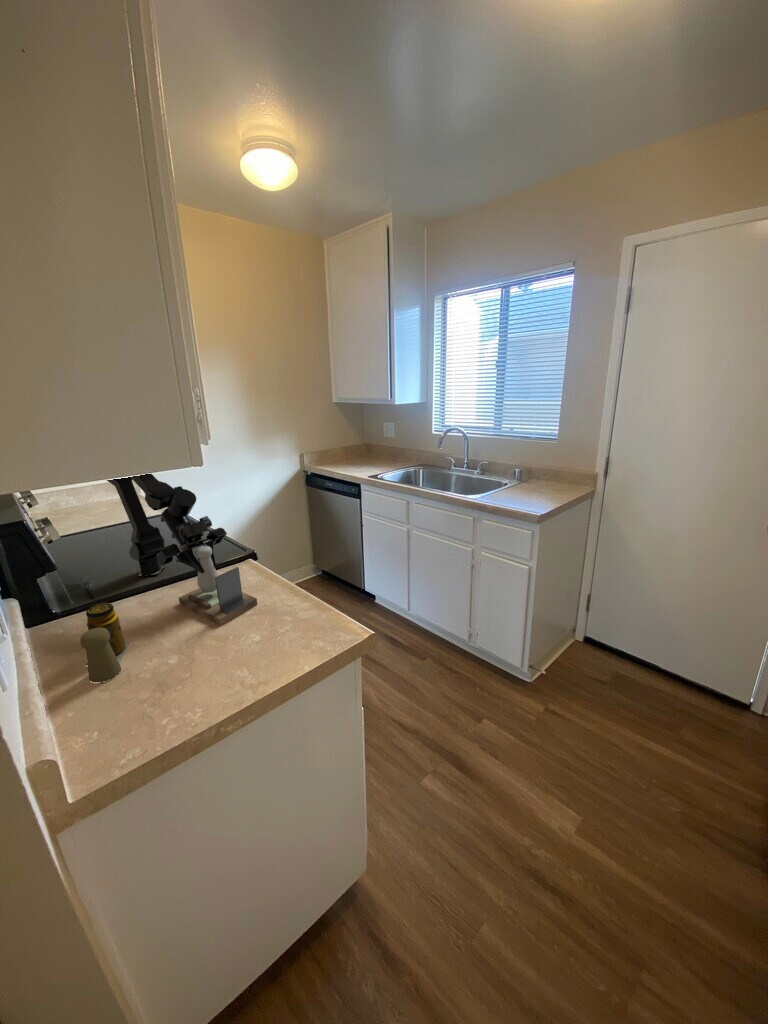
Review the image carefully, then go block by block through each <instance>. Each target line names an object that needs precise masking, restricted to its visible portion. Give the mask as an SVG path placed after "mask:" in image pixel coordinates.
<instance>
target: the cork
mask: <svg viewBox="0 0 768 1024" xmlns="http://www.w3.org/2000/svg"><path fill="white" fill-rule="evenodd" d="M109 640H110V634H109V631H108V630H107V629H105V628H94V629H91V630H86V632H84V633H83V634H82V635H81V637H80V641H79V643H80V646H81V647H82V649H83V650H85V653H86V661H87V662H86V664H88V667H87V671H88V674H87V675H88V680H90V681H92V682H103V681H107V680H109V679H112V678H114V677H115V676H116V675H118V676H119V674H120V673H121V672H120V671H122V666H121V664H120V663H119V662H118V660H117V658H116V656H115V654H114V652H113V650H112V648H111V646H110V644H109ZM119 672H120V673H119ZM116 677H117V676H116ZM116 677H115V678H116ZM115 678H114V679H115ZM112 680H113V679H112ZM90 681H89V682H90ZM107 682H108V681H107Z"/></svg>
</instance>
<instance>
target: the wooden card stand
mask: <svg viewBox="0 0 768 1024" xmlns="http://www.w3.org/2000/svg"><path fill="white" fill-rule="evenodd" d="M242 595H243V599H245V600H247V601H249V602H250V603H248V604H246V605H244V606H242V607H241V608H239V609H237V610H235V611H233V612H232V613H230V614H226V613H224V612H222V611H220V606H219V600H218V594H217V590H215V591H213V592H210V593H205V592H203V591H202V590H201V589H200V588H199V587H198V588H196V589H194V590H192V591H190V592H188V593H185V594H183V595H182V596H179V597H178V601H179V605H181V606H183V607H185V608H186V609H189V610H191V611H192V612H194V613H196V614H199V615H200V616H202V617H204V618H206V619H207V620H208V621H212V622H213V623H215V624H217V625H219V626H222V625H224V624H226V623H228V622H229V621H232V620H233V619H235V618H236V617H238V616H239V615H242V614H243V613H245V612H247V611H248V610H250V609H252V608H254V607H256V606H257V605H258V599H257V598H256V597H254V596H252V595H250V594H248V593H245V592H244V591H242Z"/></svg>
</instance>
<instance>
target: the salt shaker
mask: <svg viewBox="0 0 768 1024" xmlns="http://www.w3.org/2000/svg"><path fill="white" fill-rule="evenodd" d="M211 555H212V549H211V548H210V547H209V546H199V547H196V548H195V551H194V556H195V557H196V559H197V560H198V562H199V563H200V565H201V566H202V568H203V570H204V573H203V574H202V573H200V572H199V571H197V581H196V582H197V584H196V585H197V587H198V588H200V589H201V590H202V591H203V592H205V593H210V592H213V591H215V590H217V588H216V582H215V577H217V576H219V574H218V572H217V570H216V568H214V565H213V562H212V560H211V557H210V556H211Z"/></svg>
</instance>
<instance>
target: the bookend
mask: <svg viewBox="0 0 768 1024" xmlns="http://www.w3.org/2000/svg"><path fill="white" fill-rule="evenodd" d="M215 582H216V588H217V594H218V600H219V606H220V611H222V612H224V613H226V614H230V613H232V612H233V611H235V610H237V609H239V608H241V607H242V606H244V605H246V604H248V603H250V602H249V601H247V600H245V599H243V595H242V592H243V590H242V582H241V575H240V569H239V567H238V566H237V567H235V568H233V569H230V570H227V571H226V572H223V573H222V574H218V576H217V577H215Z"/></svg>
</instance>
